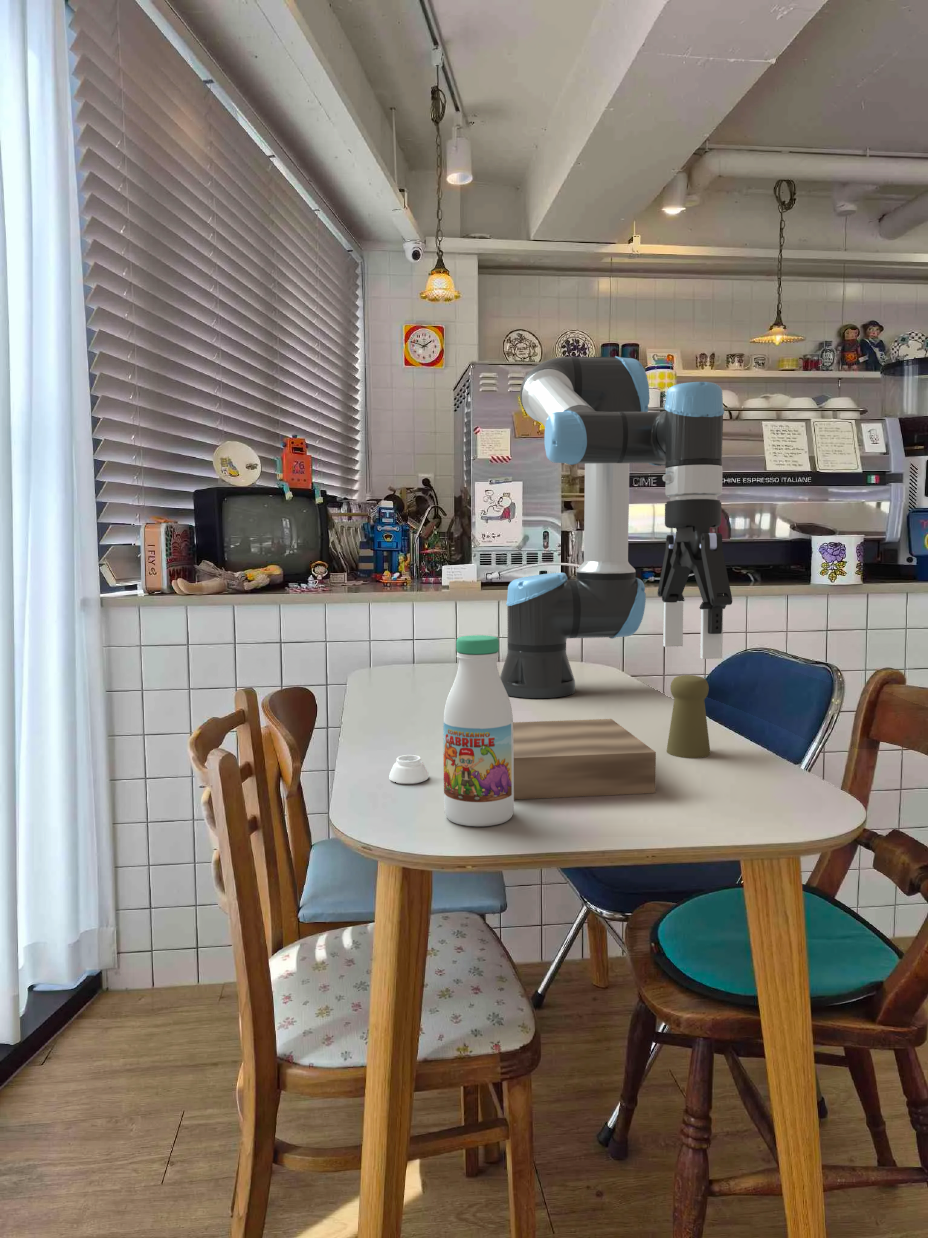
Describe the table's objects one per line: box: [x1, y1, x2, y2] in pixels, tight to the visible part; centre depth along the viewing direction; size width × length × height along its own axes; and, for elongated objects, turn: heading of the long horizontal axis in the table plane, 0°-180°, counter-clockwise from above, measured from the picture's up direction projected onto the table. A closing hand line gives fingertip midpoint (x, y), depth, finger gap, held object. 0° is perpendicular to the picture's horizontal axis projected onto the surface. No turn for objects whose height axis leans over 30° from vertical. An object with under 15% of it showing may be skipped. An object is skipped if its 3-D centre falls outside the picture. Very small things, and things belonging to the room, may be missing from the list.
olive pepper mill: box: [666, 674, 711, 759], centre depth 114 cm, size 6×6×11 cm
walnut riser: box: [513, 718, 657, 801], centre depth 104 cm, size 18×18×5 cm
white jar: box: [388, 754, 430, 785], centre depth 103 cm, size 5×3×5 cm
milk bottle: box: [442, 634, 515, 827], centre depth 88 cm, size 8×8×20 cm
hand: (690, 652), depth 113 cm, fingers open, 13 cm apart
